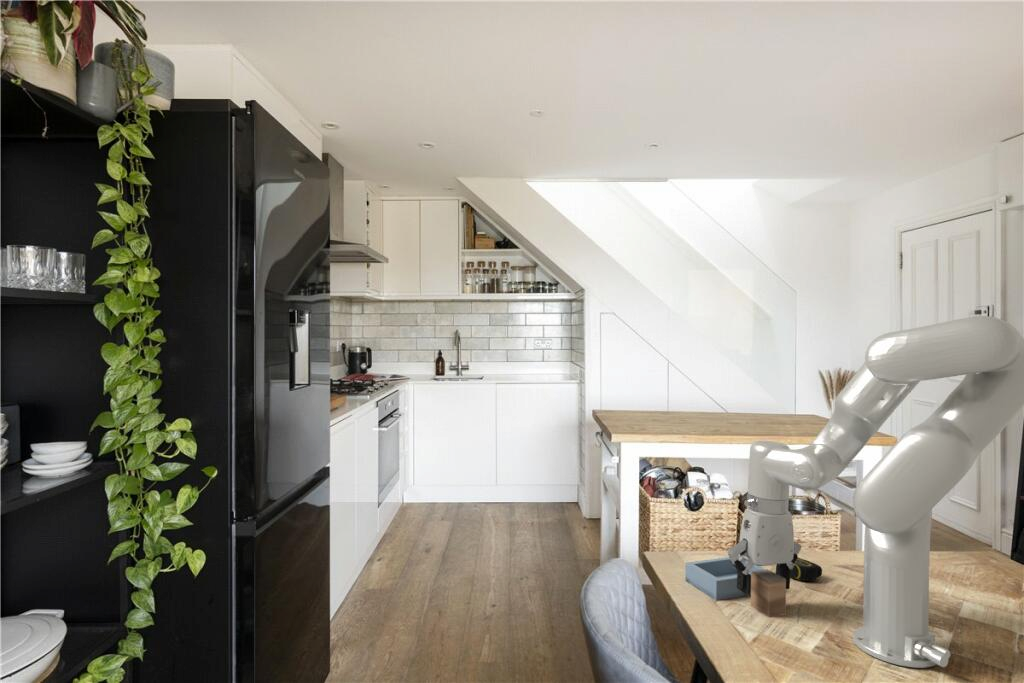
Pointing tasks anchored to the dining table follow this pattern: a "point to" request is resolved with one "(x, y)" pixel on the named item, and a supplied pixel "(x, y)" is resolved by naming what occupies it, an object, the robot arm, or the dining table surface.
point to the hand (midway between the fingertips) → (763, 588)
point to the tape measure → (805, 570)
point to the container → (716, 577)
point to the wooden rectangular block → (768, 592)
